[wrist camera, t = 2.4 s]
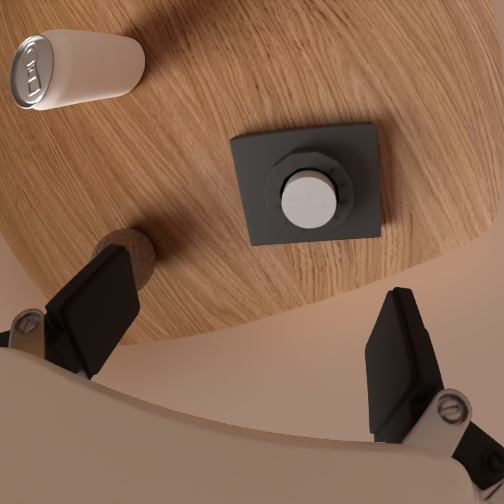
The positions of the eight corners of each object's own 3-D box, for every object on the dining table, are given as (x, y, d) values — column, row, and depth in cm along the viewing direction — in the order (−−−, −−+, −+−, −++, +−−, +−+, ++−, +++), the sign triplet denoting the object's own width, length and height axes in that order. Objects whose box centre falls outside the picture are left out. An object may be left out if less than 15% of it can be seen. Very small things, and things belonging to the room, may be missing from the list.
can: (142, 27, 21) (53, 12, 11) (152, 86, 24) (62, 95, 14) (92, 50, 23) (3, 54, 12) (101, 104, 26) (12, 126, 15)
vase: (162, 223, 31) (118, 267, 24) (166, 276, 35) (131, 325, 27) (110, 216, 32) (63, 254, 25) (119, 266, 36) (80, 308, 28)
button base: (371, 121, 22) (381, 126, 19) (377, 227, 27) (385, 248, 24) (234, 136, 25) (222, 143, 22) (254, 236, 30) (246, 257, 27)
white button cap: (332, 167, 22) (334, 174, 20) (336, 215, 24) (338, 226, 22) (280, 172, 23) (277, 179, 21) (288, 219, 25) (285, 230, 23)
